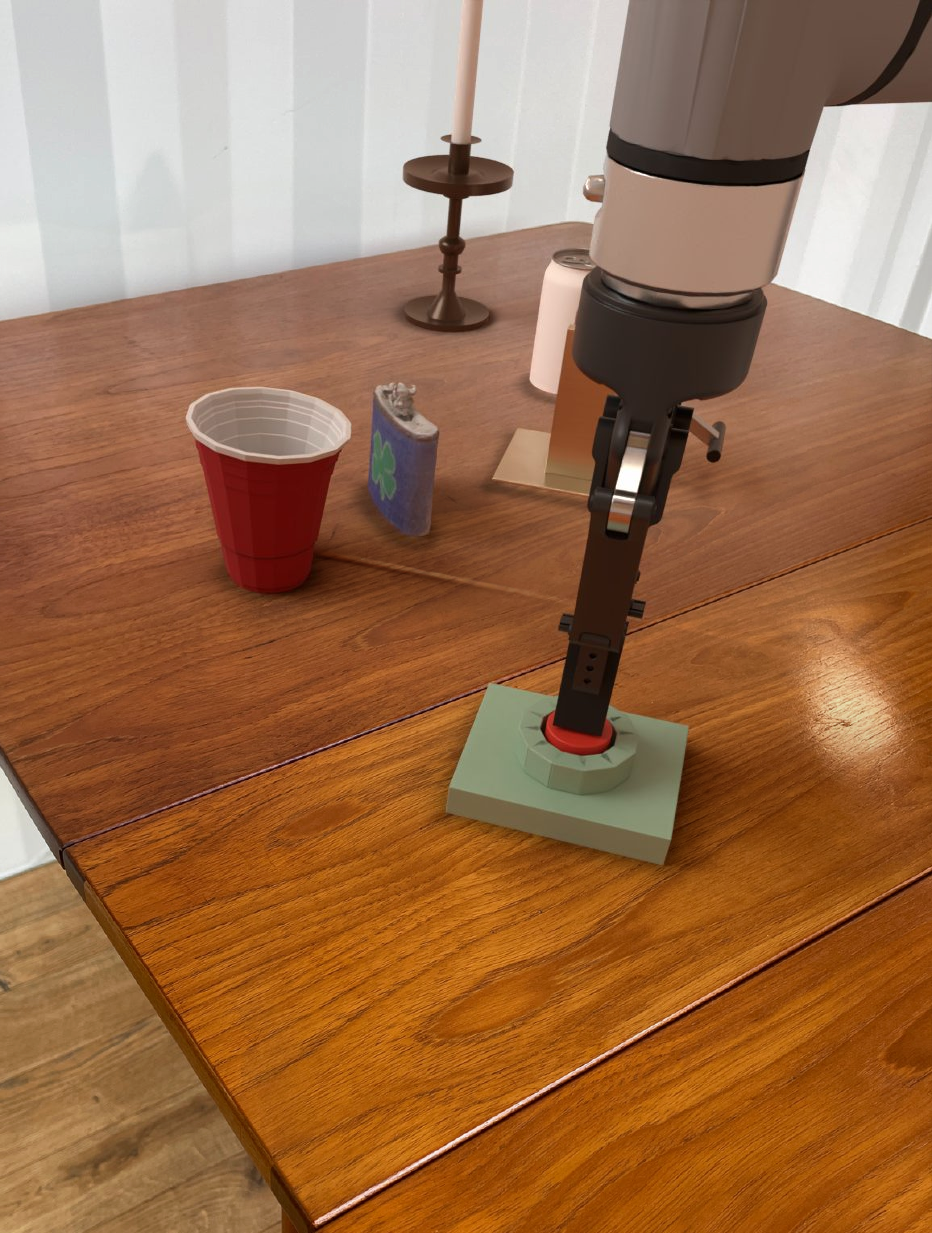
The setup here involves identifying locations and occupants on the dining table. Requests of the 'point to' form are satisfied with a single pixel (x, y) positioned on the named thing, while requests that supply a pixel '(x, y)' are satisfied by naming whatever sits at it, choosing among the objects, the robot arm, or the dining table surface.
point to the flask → (402, 459)
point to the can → (557, 314)
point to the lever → (709, 436)
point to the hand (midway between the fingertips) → (579, 722)
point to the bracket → (559, 437)
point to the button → (577, 739)
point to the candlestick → (456, 189)
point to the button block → (571, 777)
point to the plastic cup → (267, 478)
